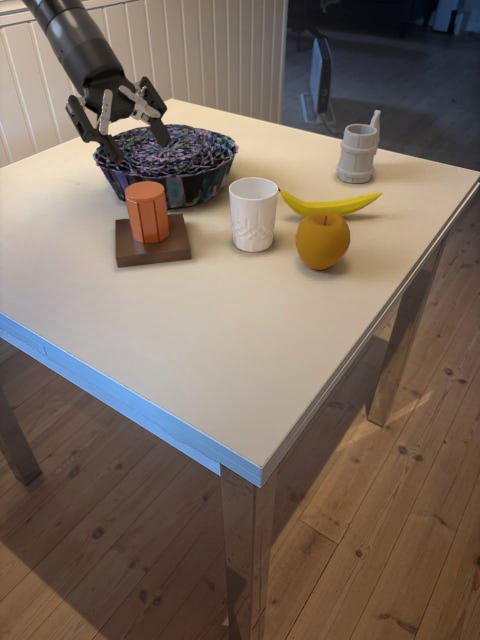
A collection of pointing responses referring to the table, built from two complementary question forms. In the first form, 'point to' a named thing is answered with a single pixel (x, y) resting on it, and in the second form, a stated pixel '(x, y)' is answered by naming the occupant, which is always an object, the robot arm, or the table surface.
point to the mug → (359, 151)
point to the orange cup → (147, 211)
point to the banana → (328, 204)
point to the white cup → (253, 213)
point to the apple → (322, 239)
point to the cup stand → (151, 244)
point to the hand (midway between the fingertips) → (144, 153)
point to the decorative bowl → (171, 163)
